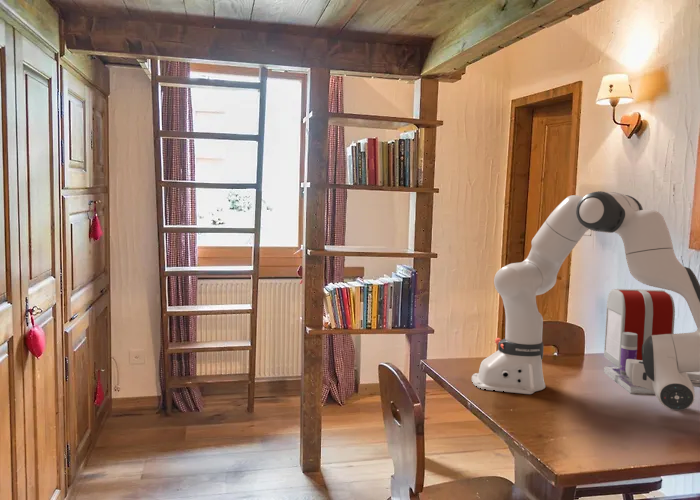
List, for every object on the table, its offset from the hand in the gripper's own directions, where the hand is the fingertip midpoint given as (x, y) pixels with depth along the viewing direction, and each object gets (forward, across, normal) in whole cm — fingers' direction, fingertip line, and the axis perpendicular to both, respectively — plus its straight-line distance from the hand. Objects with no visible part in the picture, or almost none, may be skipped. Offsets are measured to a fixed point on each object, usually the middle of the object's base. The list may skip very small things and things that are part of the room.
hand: (663, 365), depth 159 cm
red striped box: (+43, +4, +12) cm, 45 cm away
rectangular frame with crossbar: (+17, +6, +11) cm, 21 cm away
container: (+22, +8, +12) cm, 26 cm away
